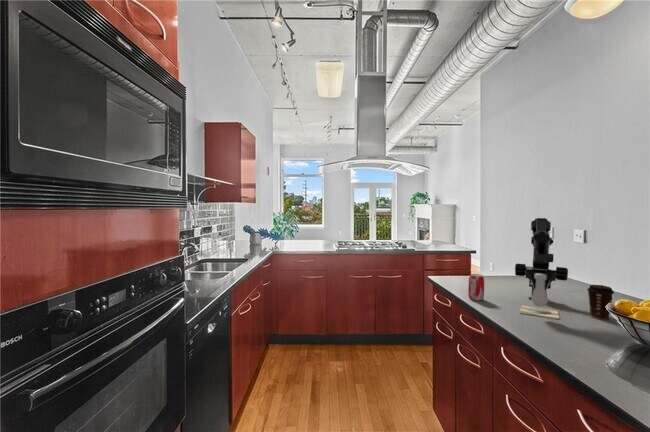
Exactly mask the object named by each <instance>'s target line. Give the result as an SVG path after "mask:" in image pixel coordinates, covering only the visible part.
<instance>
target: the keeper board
mask: <svg viewBox="0 0 650 432" xmlns="http://www.w3.org/2000/svg"><path fill="white" fill-rule="evenodd" d="M519 314H520V315H528V316H535V317H541V318H548V319H554V320H560V315H559V310H558V309H555V308H547V307H540V306H532V305H525V304H521V306H520V310H519Z"/></svg>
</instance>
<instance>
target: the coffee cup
mask: <svg viewBox="0 0 650 432" xmlns="http://www.w3.org/2000/svg"><path fill="white" fill-rule="evenodd" d="M587 293H588V304H589V306H588V307H589V317H590V318H593V319H597V320H609V319H610V312H608V311H607V310H606V308H605V306H606V305H607V304H608V303H613V302H612V301H613V295H614V294H615V292H614V290H613V288H612V287H610V286H607V285H603V284H599V285H598V284H590V285H589V287H588V288H587Z"/></svg>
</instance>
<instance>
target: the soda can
mask: <svg viewBox="0 0 650 432" xmlns="http://www.w3.org/2000/svg"><path fill="white" fill-rule="evenodd" d="M467 291H468V295H467V296H468V298H469V299H470V300H471V301H478V302H481V301H482V300H484V297H485V278H484V275H483V274H480V273H479V274H478V273H470V276H469V277H468V290H467Z"/></svg>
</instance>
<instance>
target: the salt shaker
mask: <svg viewBox="0 0 650 432" xmlns="http://www.w3.org/2000/svg"><path fill="white" fill-rule="evenodd" d="M534 278H535V279H536V283H535V289H534V290H533V294H532V293H531V297H532V298H531V299H530V300H531V301H532V303H533V305H534V306H535V307H541V308H545V307H547V304H548V303H549V300H548V299H549V297H548V292H547V290H548V289H547V290H545V280H546V279H547V276H546V275H545V274H542V273H536V274H535V275H534Z"/></svg>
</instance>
